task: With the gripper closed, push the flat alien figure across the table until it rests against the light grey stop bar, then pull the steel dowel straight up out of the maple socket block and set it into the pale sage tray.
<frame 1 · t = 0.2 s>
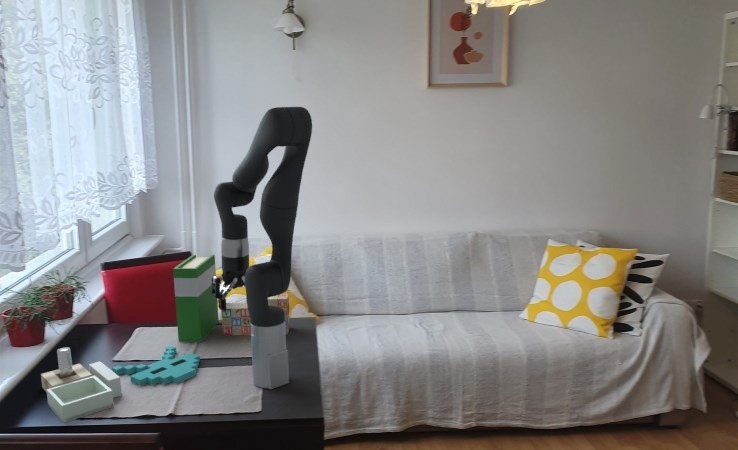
hand: (236, 307, 184), 18 cm above the table, tool pointing down, fingers open, 8 cm apart
stack of blocks: (256, 332, 215), on the table
socket block: (68, 388, 175), on the table
steel dowel: (65, 369, 173), in the socket block
hardback book: (199, 332, 215), on the table
alien figure: (164, 372, 185), on the table
tray: (80, 406, 164), on the table
stop bar: (105, 388, 174), on the table
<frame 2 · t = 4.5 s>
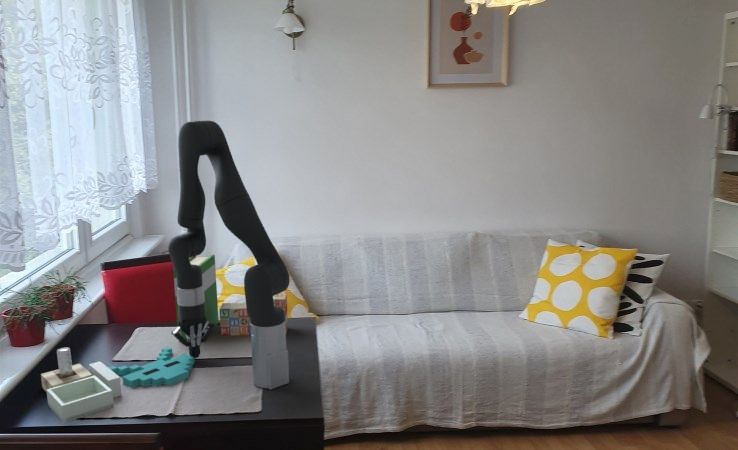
hand: (195, 357, 191), 1 cm above the table, tool pointing down, fingers closed
alien figure: (157, 373, 184), on the table, touching gripper
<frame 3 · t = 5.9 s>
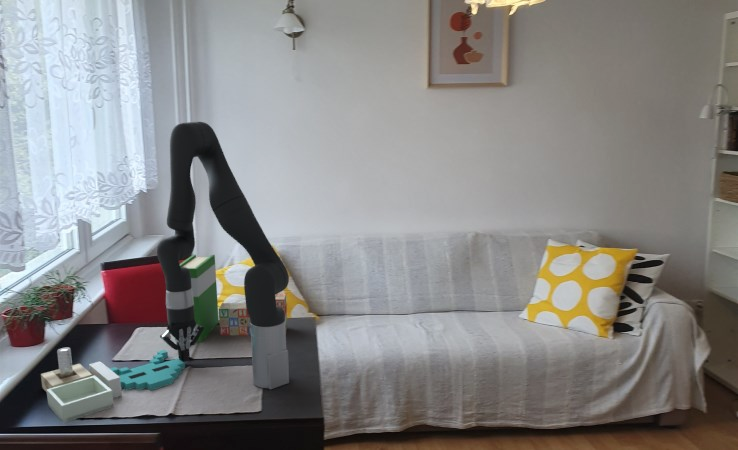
hand: (184, 360, 189), 1 cm above the table, tool pointing down, fingers closed
alien figure: (146, 377, 183), on the table
everything else where it was.
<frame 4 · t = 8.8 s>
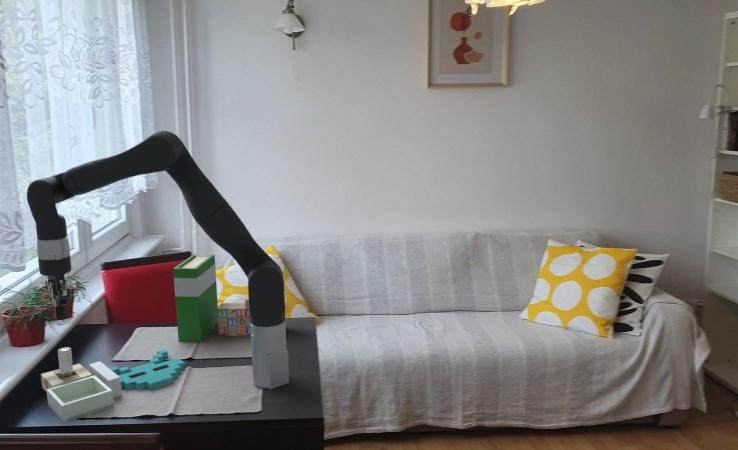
hand: (60, 318, 171), 20 cm above the table, tool pointing down, fingers closed
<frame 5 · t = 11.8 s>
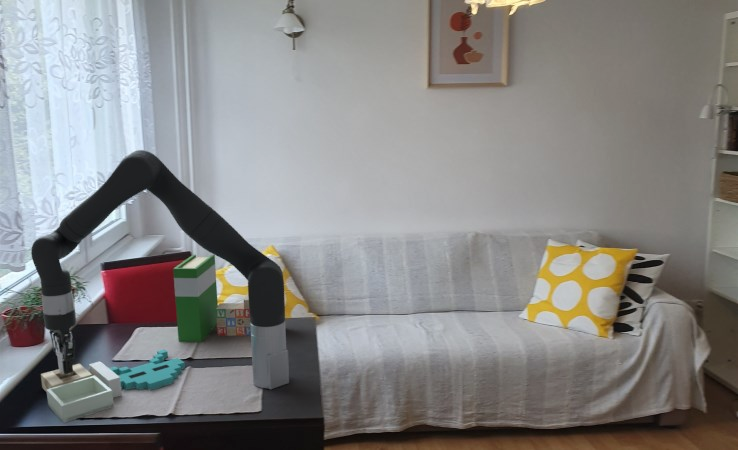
hand: (66, 370, 174), 5 cm above the table, tool pointing down, fingers closed on steel dowel, 3 cm apart
steel dowel: (65, 369, 173), in the socket block, touching gripper
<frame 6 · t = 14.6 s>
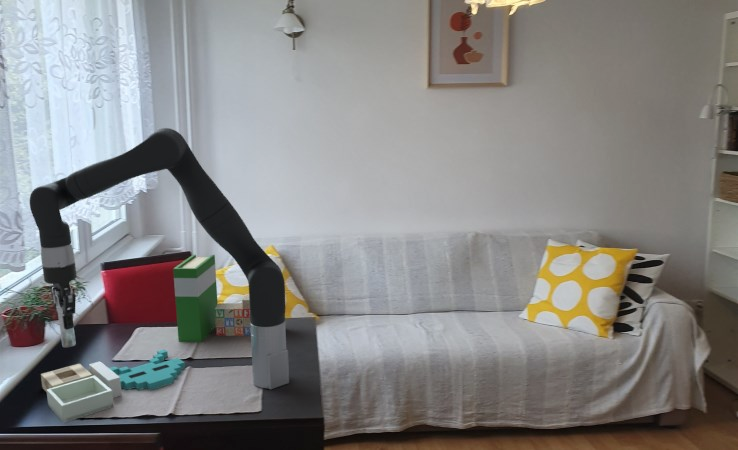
hand: (66, 326, 168), 18 cm above the table, tool pointing down, fingers closed on steel dowel, 3 cm apart
steel dowel: (66, 325, 168), point 19 cm above the table, touching gripper
when the fingers open (8 cm above the table, at t = 17.6 s): steel dowel drops 2 cm, resting on tray.
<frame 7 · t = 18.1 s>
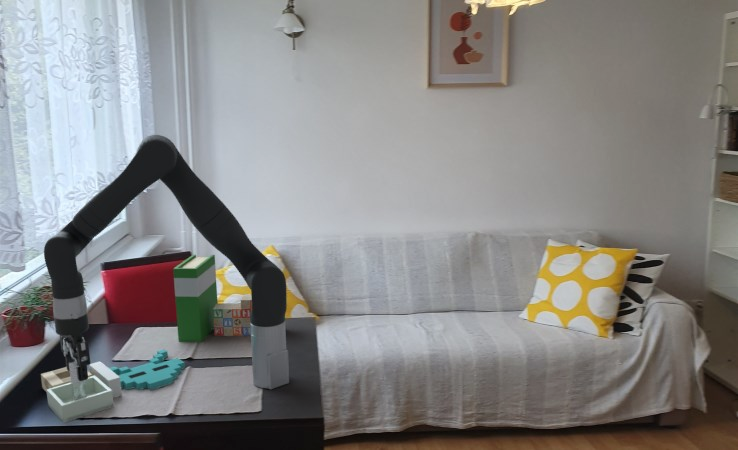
hand: (77, 374, 163), 9 cm above the table, tool pointing down, fingers open, 8 cm apart
steel dowel: (78, 382, 163), in the tray, point 6 cm above the table
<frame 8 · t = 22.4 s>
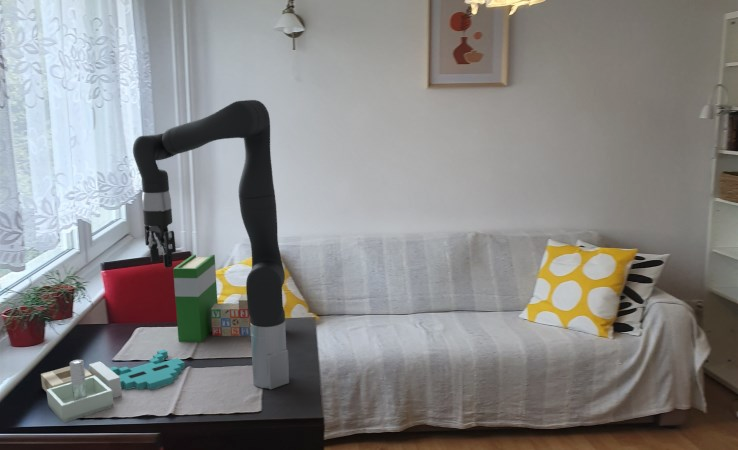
hand: (161, 264, 183), 30 cm above the table, tool pointing down, fingers open, 8 cm apart
at the end: alien figure inside the target area (0.9 cm from its centre), on the table; steel dowel inside the target area on the tray (0.0 cm from its centre), point 6.3 cm above the tray's base; the gripper is holding nothing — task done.
